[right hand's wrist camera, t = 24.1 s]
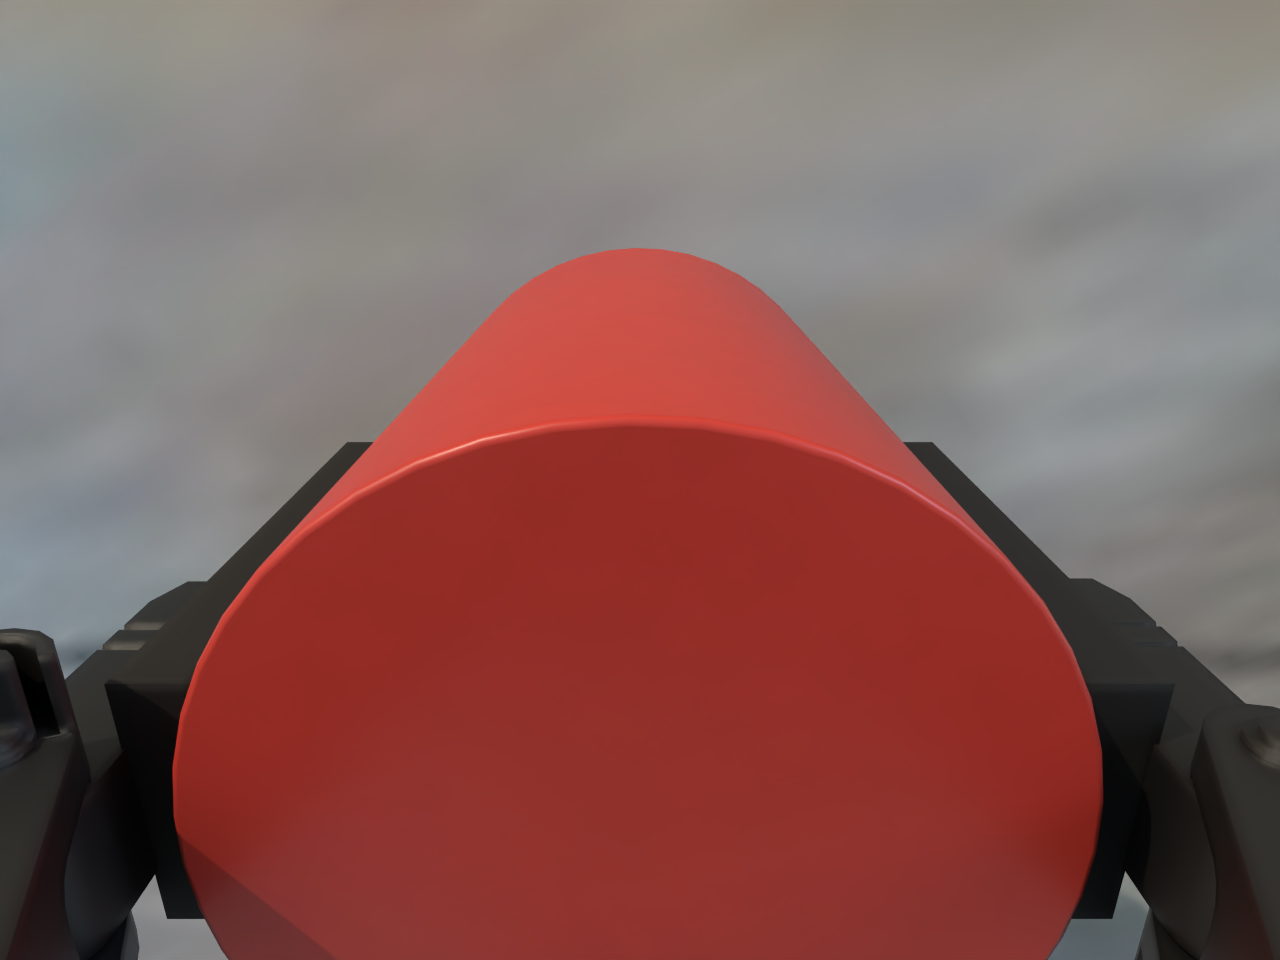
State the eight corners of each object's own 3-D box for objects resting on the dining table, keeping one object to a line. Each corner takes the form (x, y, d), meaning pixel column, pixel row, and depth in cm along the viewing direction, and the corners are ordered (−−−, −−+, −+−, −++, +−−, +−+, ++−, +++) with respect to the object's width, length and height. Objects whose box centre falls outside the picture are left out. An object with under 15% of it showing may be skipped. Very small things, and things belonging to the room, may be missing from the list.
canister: (711, 165, 15) (850, 191, 5) (893, 503, 18) (1232, 972, 8) (370, 381, 17) (-40, 729, 7) (581, 667, 19) (514, 1243, 9)
